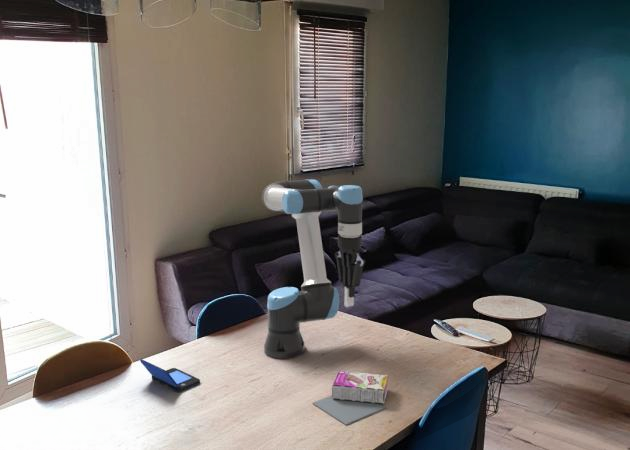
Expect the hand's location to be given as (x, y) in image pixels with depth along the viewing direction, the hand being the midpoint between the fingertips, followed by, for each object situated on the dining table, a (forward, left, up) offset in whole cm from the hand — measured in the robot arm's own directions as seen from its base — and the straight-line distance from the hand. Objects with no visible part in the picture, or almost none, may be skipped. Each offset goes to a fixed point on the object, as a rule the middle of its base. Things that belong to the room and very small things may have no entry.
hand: (349, 305), depth 197 cm
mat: (+13, -11, -27) cm, 31 cm away
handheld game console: (-36, -47, -27) cm, 65 cm away
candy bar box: (+3, -9, -24) cm, 25 cm away
